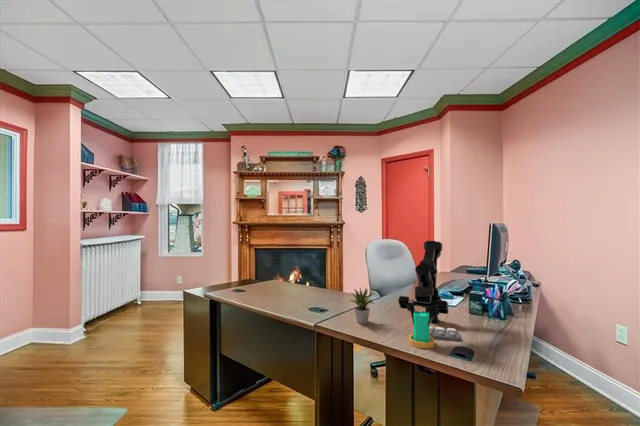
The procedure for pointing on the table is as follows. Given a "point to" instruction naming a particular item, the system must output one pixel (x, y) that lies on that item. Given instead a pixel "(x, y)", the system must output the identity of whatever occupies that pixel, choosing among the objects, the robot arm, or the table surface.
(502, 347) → the table surface
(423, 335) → the candle
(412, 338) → the ring
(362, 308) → the house plant
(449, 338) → the breaker panel
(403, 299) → the robot arm
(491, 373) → the table surface
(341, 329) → the table surface
